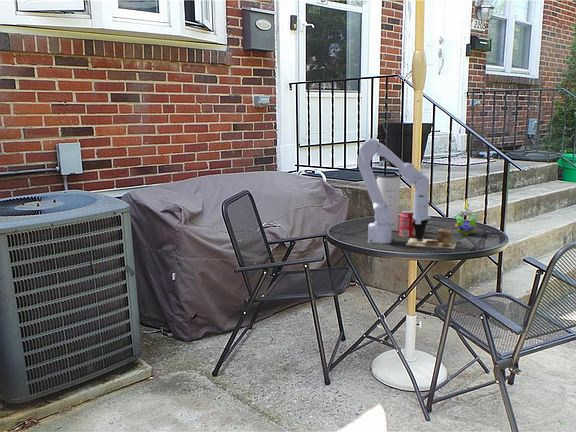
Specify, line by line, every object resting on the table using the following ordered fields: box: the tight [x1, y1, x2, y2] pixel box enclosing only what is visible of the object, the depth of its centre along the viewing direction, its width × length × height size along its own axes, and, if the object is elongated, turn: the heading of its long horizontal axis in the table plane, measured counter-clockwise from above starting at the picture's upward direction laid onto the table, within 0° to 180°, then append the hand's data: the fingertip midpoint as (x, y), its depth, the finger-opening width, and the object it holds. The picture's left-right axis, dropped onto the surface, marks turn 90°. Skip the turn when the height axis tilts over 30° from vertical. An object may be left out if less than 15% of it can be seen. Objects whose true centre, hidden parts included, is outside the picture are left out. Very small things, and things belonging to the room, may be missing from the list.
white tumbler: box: [376, 175, 401, 232], centre depth 239 cm, size 11×10×26 cm
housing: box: [436, 228, 452, 243], centre depth 214 cm, size 5×5×5 cm
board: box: [405, 237, 458, 250], centre depth 212 cm, size 19×14×4 cm
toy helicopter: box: [454, 198, 478, 236], centre depth 229 cm, size 25×9×15 cm, turn 162°
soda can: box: [398, 209, 416, 238], centre depth 226 cm, size 7×7×12 cm
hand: (419, 238), depth 213 cm, fingers closed on peg, 2 cm apart
